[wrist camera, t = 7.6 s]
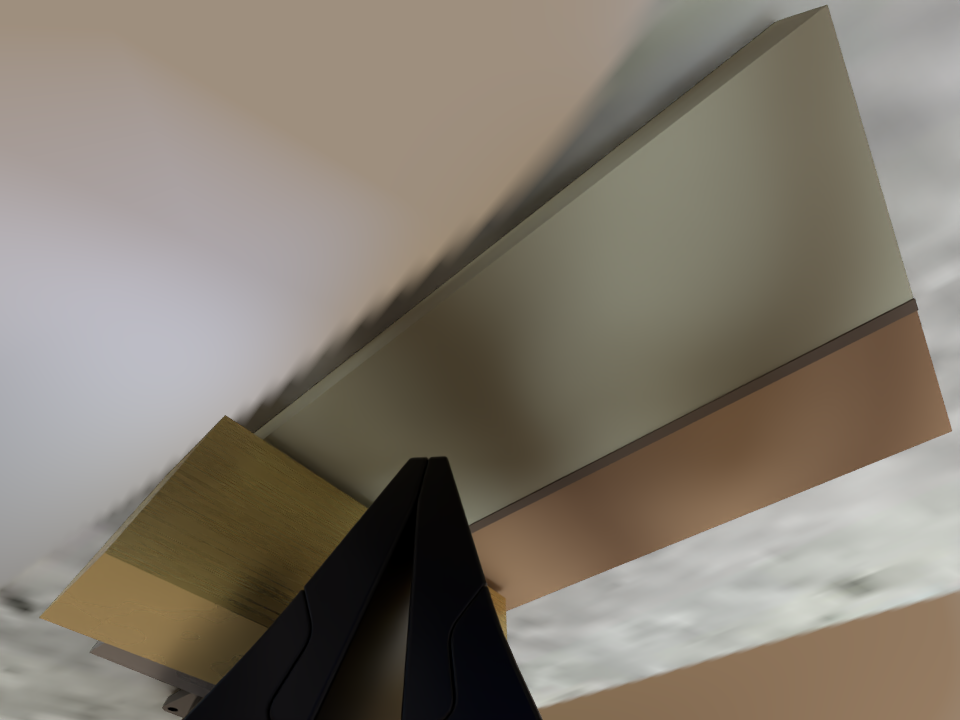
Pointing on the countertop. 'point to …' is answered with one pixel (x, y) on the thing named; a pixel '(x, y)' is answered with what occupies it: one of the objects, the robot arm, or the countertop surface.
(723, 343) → the door board
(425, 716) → the robot arm
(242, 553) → the latch bar
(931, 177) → the countertop surface
